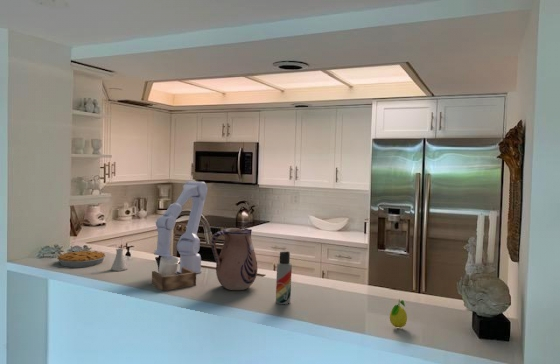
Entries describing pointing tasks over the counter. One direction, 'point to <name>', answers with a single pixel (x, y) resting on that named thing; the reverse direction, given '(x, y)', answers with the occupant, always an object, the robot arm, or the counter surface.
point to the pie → (81, 258)
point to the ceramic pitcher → (235, 259)
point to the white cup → (168, 266)
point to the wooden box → (174, 280)
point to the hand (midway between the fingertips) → (161, 273)
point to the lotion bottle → (283, 279)
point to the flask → (119, 261)
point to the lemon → (398, 315)
